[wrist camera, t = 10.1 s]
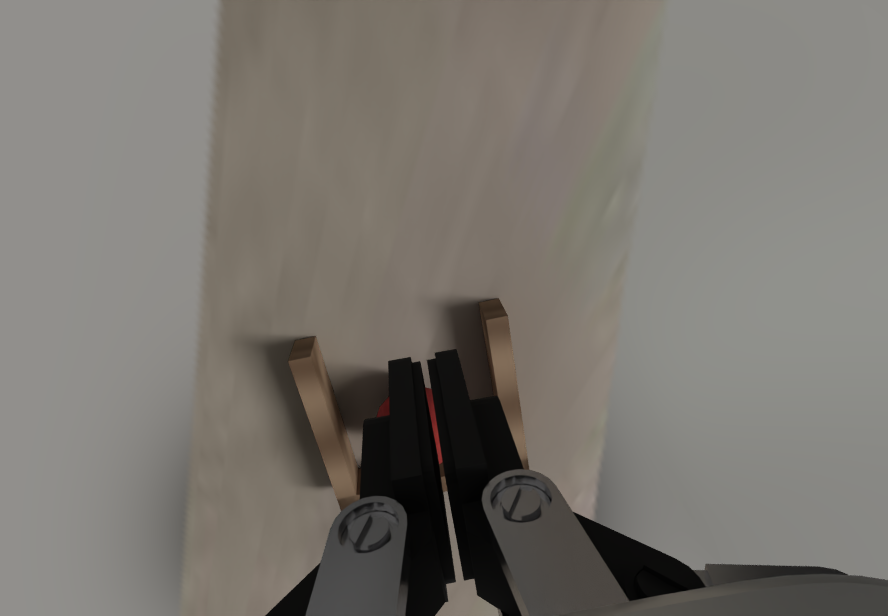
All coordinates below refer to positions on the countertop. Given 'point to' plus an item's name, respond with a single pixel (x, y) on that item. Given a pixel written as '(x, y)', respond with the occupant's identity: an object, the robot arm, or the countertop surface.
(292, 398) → the countertop surface
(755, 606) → the robot arm
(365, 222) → the countertop surface
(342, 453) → the corral
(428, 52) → the countertop surface
